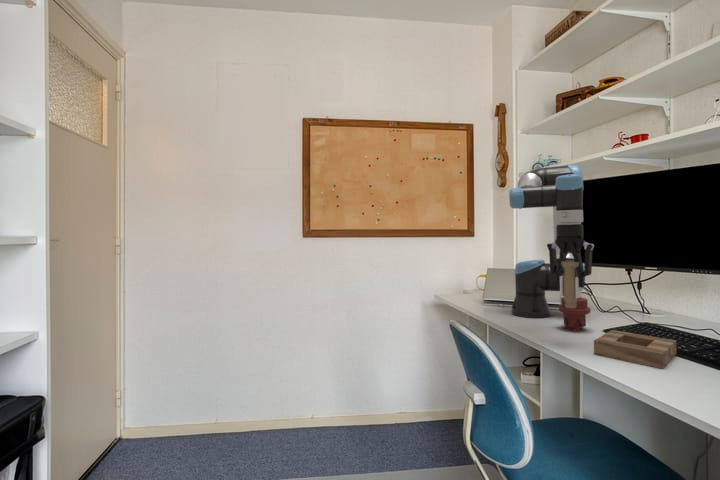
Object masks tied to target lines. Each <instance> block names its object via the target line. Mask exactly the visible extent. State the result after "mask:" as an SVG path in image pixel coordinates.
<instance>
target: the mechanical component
mask: <svg viewBox="0 0 720 480" xmlns="http://www.w3.org/2000/svg"><path fill="white" fill-rule="evenodd" d="M560 301H561V303H560V305H558V311H559V312H561V313H562V314H563V327H564V328H565V329H568V330H572V331H575V332H580V331H581V330H582V329H583V328H585V327H586V326H587V325H586V322H587V321H586V315H589V314H591V308H590V307H589V305H588V302H589V301H588V298H586V297H580V298H577V303H576V304H577V306H576V308H566V307H565V303H566V302H565V300H564V296H561V298H560Z"/></svg>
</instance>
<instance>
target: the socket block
mask: <svg viewBox="0 0 720 480" xmlns="http://www.w3.org/2000/svg"><path fill="white" fill-rule="evenodd" d="M593 354H594V355H596V354H597V356H601V357H605V358H610V359H615V360H620V361H624V362H629V363H635V364H640V365H645V366H647V367H652V368H658V369H662V370H664V368H665V367H666V366H667V365H668V364H669V363H670V362H671V361H672V360H673V358H675V356H676V355H677V340H675V339H669V338H665V337H657V336H653V335H652V336H650V335H645V334H640V333H639V334H638V333H633V332H626V331H625V332H624V331H620V330H615V329H611V330H609V331H607V332H606V333H604V334H602V335H600V336H599V337H598V338H596V339H594V340H593Z"/></svg>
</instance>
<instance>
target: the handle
mask: <svg viewBox="0 0 720 480" xmlns="http://www.w3.org/2000/svg"><path fill="white" fill-rule="evenodd" d="M561 265H562V267H564V296H563V297H564V300H565V302H566V303H565V307H566V308H576V306H577V304H576V303H577V298H576V289H575V277H577V276H576V267H578V266H579V262H575V261H574V260H566V261H561Z"/></svg>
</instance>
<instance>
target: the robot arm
mask: <svg viewBox="0 0 720 480" xmlns="http://www.w3.org/2000/svg"><path fill="white" fill-rule="evenodd" d="M584 187H585V186H584V178H583V173H582V169H581V167H580V166H579V165H577V164H570V165H568V164H566V165H560V166H559V165H558V166H549V167H539V168H535V169H531V170H530V171H528V172H525V173H523V174H522V175H521V176H520V178H519V179H518V181H517V187H512V188H510V189H509V192H508V193H509V195H508V196H509V197H508V199H509V200H508V201H509V207H510V209H519V210H522V209H531V208H551V207H552V212H553V213H552V219H553V223H552V224H553V227H552V229H553V242H551V243H547V244H546V247H547V249H548V255H549V262H548V263H546V261H545V260H544V259H536V260H535V259H533V260H526V261H519V262H517V263H516V264H515V268H514V269H515V271H514V275H515V280H514V281H515V295H514V296H515V298H514V300H513V303H512V307H511V314H512V315H513V316H517V317H522V318H530V319H531V318H533V319H535V318H536V319H539V318H543V319H544V318H548V317H550V316H551V309H550V306H549V304H548V301H547V298H546V292H559V297H564V267H562V265H561V261H566V260H574V261H575V262H579V266H578V267H576V276H577V277H575V289H576V298H580V297H581V298H583V297H582V296H583V295H582V290H584V288H585V283H586V277H588V276H591V275H592V270H593V269H592V266H593V265H592V263H593V250H594V248H595V246H596V245H595V243H589V242H586V240H585V238H584V224H582V223H583V222H584V207H583V205H584V203H583V202H584V201H583V200H584ZM583 247H584V250H585V251H584V262H583V260H582V256H581V255H582V253H581V249H582V248H583Z"/></svg>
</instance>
